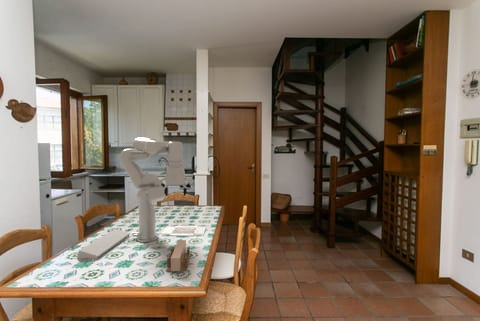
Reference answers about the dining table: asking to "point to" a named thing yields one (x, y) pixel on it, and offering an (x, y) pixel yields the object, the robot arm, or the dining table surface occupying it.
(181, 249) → the clay strip
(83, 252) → the decorative molding
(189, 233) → the tray
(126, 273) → the dining table surface
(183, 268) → the rack
